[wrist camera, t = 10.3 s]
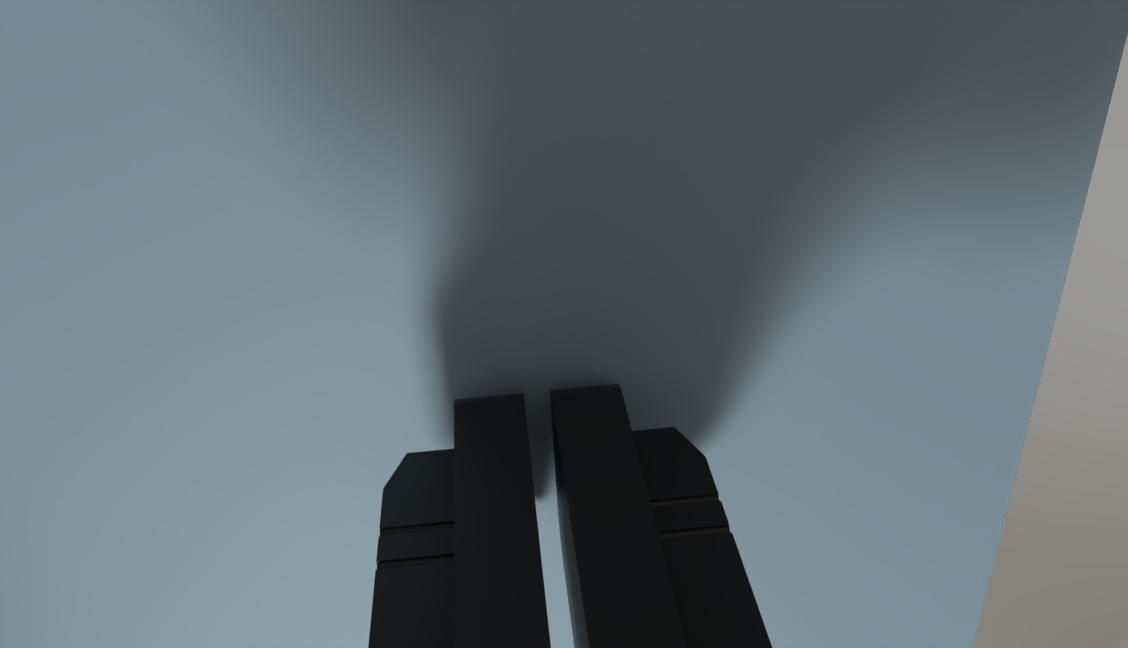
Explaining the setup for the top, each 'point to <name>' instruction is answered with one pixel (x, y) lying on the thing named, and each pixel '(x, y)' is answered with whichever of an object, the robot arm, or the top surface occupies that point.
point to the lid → (523, 287)
